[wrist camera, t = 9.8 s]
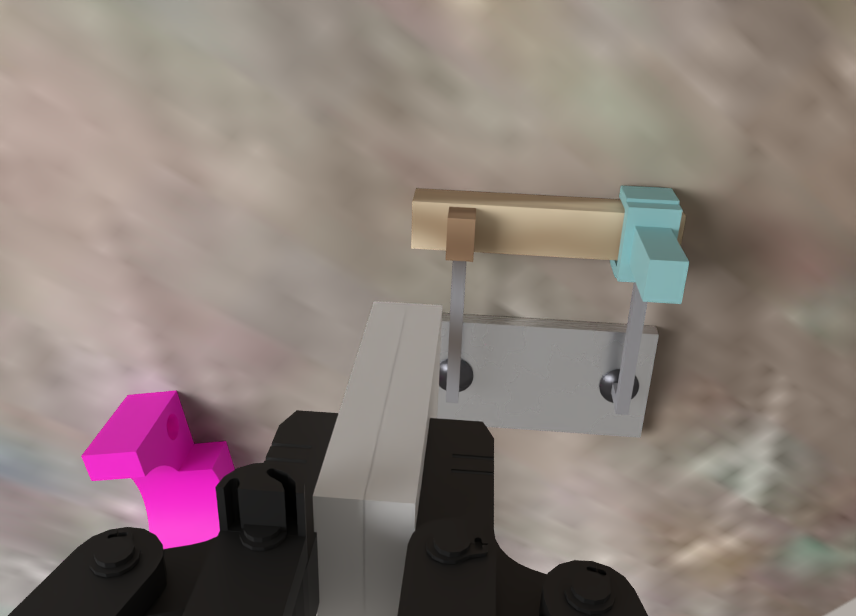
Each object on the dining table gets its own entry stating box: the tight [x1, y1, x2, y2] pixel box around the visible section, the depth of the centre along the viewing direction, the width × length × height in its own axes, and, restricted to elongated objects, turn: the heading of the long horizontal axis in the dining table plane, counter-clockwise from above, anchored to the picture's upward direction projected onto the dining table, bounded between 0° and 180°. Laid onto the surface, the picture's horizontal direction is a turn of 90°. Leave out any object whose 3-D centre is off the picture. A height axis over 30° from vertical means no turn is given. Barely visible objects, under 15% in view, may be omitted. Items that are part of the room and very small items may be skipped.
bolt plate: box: [437, 313, 659, 437], centre depth 54 cm, size 8×16×1 cm, turn 88°
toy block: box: [82, 391, 235, 549], centre depth 58 cm, size 15×6×8 cm, turn 9°
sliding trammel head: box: [610, 186, 689, 415], centre depth 48 cm, size 14×3×8 cm, turn 178°
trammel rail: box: [411, 188, 686, 403], centre depth 50 cm, size 13×16×4 cm
